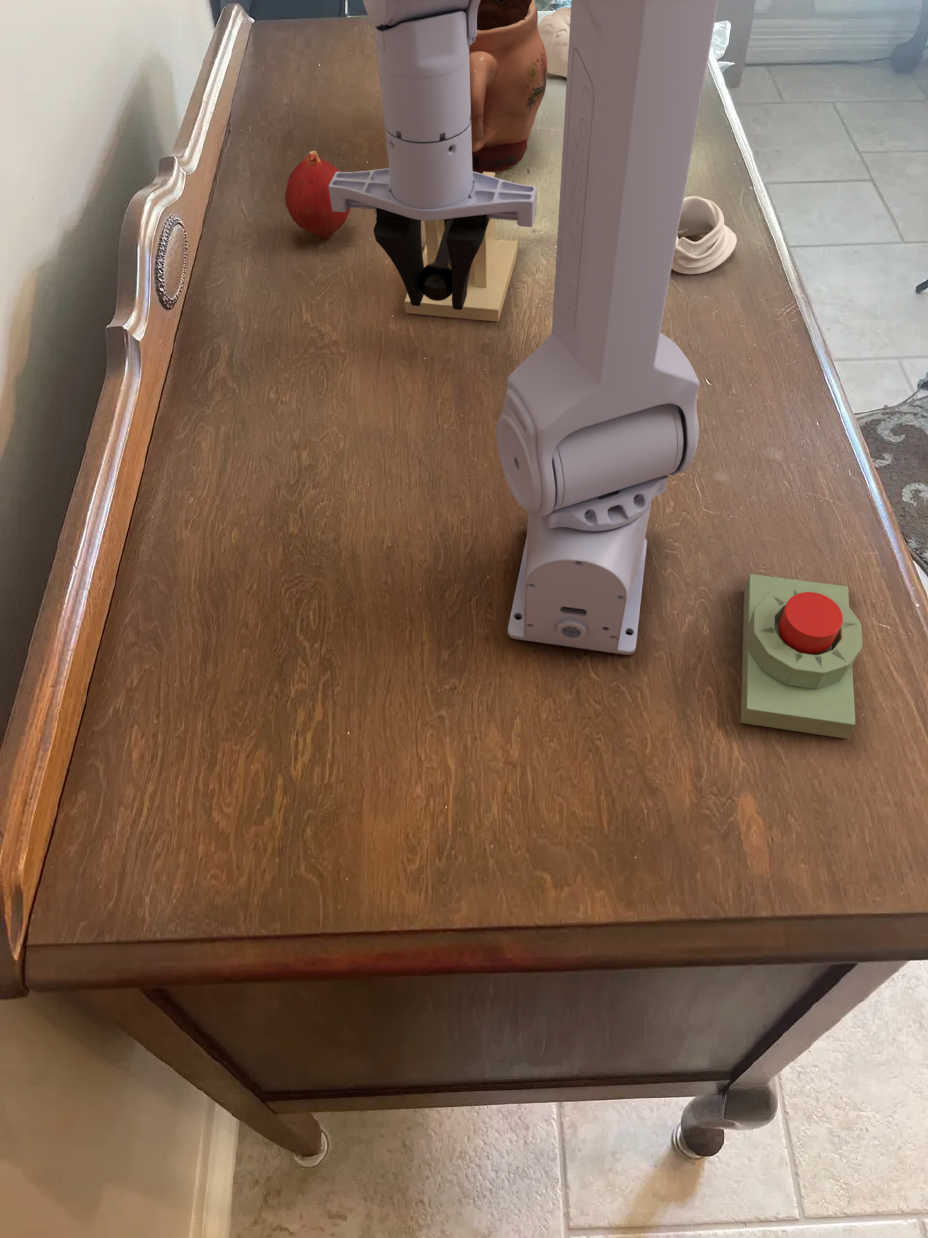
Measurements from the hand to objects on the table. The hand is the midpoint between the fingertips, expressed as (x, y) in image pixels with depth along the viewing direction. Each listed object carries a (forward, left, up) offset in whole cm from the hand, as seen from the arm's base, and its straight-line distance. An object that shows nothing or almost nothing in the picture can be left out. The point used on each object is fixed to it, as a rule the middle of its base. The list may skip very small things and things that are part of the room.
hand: (439, 299), depth 71 cm
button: (-26, -27, -1) cm, 38 cm away
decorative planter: (+29, +2, -5) cm, 29 cm away
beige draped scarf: (+16, -19, -5) cm, 25 cm away
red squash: (+14, +14, -5) cm, 20 cm away
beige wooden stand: (+9, 0, -4) cm, 10 cm away
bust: (+50, -6, -5) cm, 50 cm away
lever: (+4, 0, +1) cm, 5 cm away
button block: (-26, -28, -4) cm, 38 cm away
